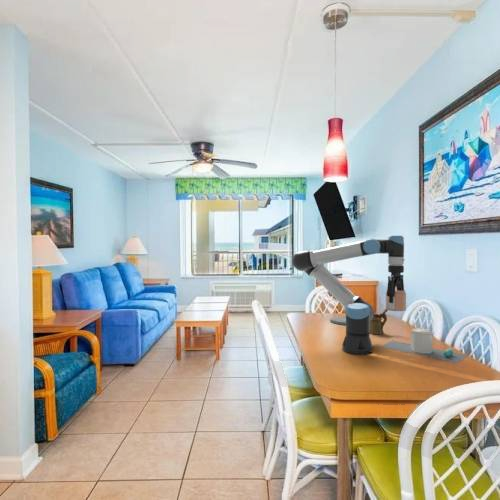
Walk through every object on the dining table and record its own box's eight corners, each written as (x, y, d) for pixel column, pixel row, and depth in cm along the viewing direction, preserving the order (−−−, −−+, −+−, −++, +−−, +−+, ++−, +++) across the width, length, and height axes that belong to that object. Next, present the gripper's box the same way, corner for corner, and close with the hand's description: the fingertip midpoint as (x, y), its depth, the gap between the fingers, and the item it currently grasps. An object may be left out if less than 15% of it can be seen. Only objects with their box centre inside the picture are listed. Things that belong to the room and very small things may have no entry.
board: (457, 366, 152) (457, 363, 152) (379, 349, 178) (379, 346, 178) (467, 358, 163) (467, 355, 163) (392, 343, 189) (392, 340, 189)
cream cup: (428, 354, 164) (428, 333, 164) (408, 350, 171) (408, 330, 171) (434, 350, 171) (434, 330, 171) (415, 346, 177) (415, 327, 177)
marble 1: (449, 358, 159) (449, 352, 159) (442, 357, 161) (442, 350, 161) (451, 357, 161) (451, 350, 161) (444, 355, 163) (444, 349, 163)
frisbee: (329, 319, 252) (329, 315, 252) (368, 320, 247) (368, 317, 247) (331, 325, 232) (331, 321, 232) (372, 327, 227) (372, 323, 227)
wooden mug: (391, 335, 205) (392, 305, 205) (368, 334, 209) (368, 304, 208) (389, 332, 214) (390, 303, 213) (367, 330, 217) (367, 302, 217)
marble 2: (452, 356, 161) (452, 350, 161) (445, 355, 163) (445, 349, 163) (454, 355, 163) (454, 349, 163) (447, 353, 166) (447, 347, 165)
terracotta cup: (400, 311, 173) (401, 292, 173) (383, 309, 180) (383, 290, 180) (407, 309, 180) (408, 290, 180) (390, 307, 186) (390, 289, 186)
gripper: (394, 266, 169) (394, 311, 169) (411, 264, 184) (411, 306, 185) (379, 265, 175) (379, 309, 175) (397, 263, 190) (397, 304, 190)
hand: (395, 307), depth 180 cm, fingers closed on terracotta cup, 9 cm apart
